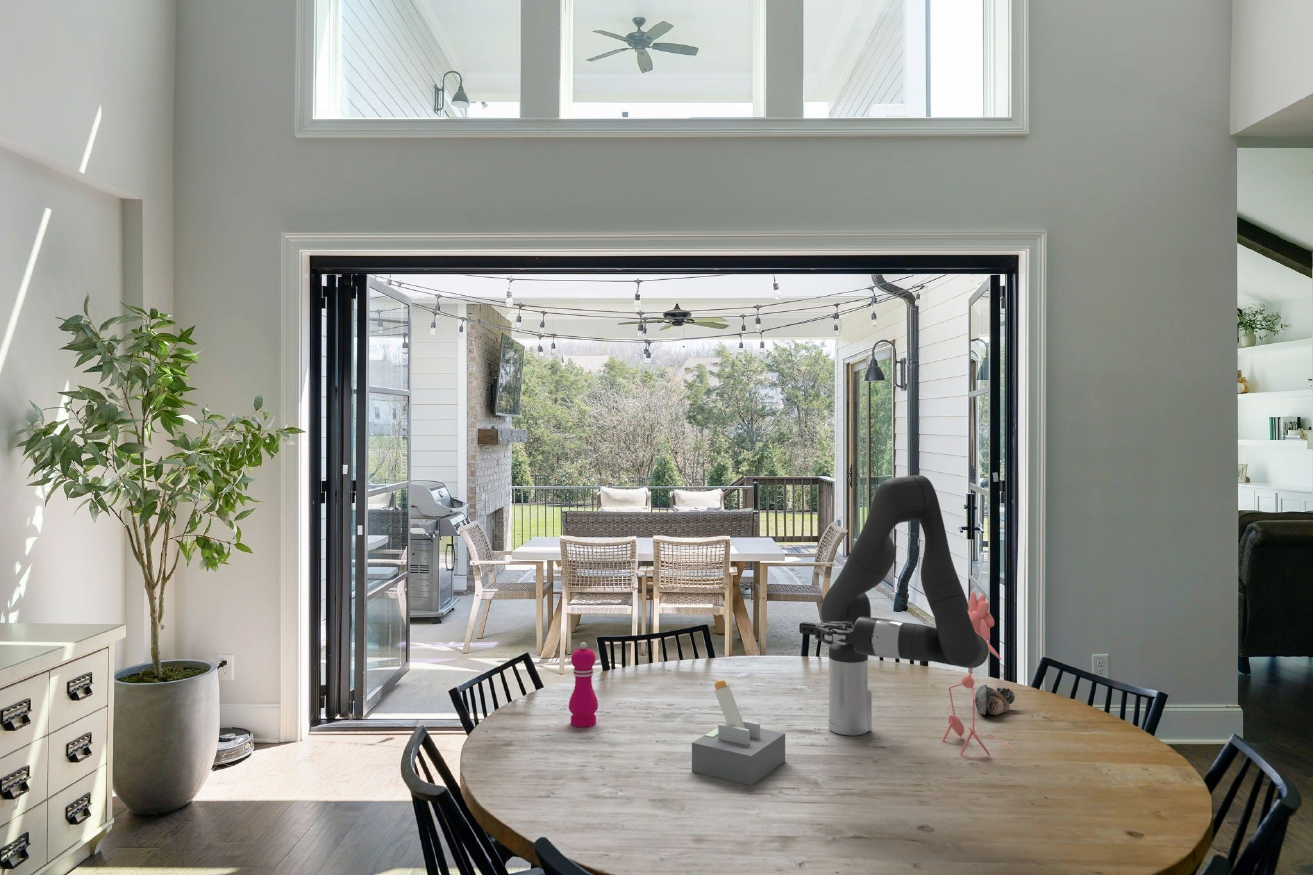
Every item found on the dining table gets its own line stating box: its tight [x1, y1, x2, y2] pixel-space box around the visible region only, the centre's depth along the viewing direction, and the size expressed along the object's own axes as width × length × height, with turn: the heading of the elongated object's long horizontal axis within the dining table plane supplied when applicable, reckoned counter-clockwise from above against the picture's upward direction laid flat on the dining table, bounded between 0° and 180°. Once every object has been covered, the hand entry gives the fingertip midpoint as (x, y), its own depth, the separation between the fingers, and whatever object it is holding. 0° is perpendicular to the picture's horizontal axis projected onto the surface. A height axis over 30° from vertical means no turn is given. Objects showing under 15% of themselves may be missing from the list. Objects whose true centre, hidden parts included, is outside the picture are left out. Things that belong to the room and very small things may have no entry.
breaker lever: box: [714, 678, 746, 729], centre depth 184 cm, size 3×3×13 cm
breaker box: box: [691, 719, 786, 787], centre depth 182 cm, size 16×14×9 cm
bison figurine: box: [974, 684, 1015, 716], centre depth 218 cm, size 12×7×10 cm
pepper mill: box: [568, 641, 599, 729], centre depth 210 cm, size 7×7×20 cm
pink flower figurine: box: [941, 591, 1016, 765], centre depth 194 cm, size 15×26×35 cm, turn 5°
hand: (800, 627), depth 181 cm, fingers closed
